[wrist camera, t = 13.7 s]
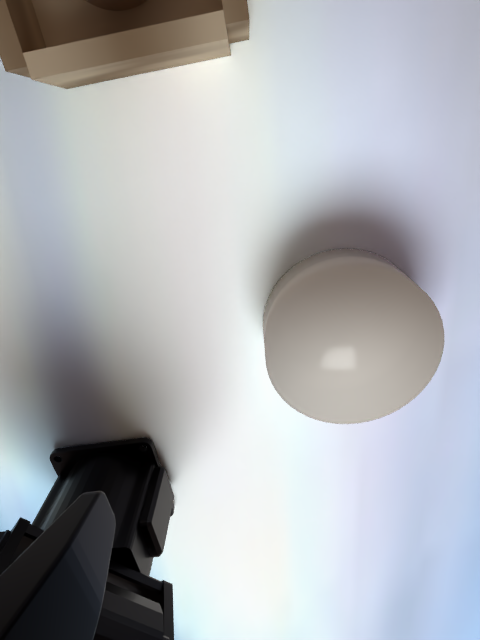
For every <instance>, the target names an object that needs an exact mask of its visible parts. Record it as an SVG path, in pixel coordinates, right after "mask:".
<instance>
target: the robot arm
mask: <svg viewBox="0 0 480 640" xmlns="http://www.w3.org/2000/svg"><path fill="white" fill-rule="evenodd" d="M142 445H144V446H147V447H143V446H142ZM58 456H59V457H58ZM60 457H61V458H60ZM50 461H51V463H52V465H53V467H54V469H55V471H56V473H57V475H58V478H57V480H56V481H55V483H54V485H53V487H52V489H51V491H50V492H49V494H48V496H47V498H46V500H45V501H44V503H43V505H42V507H41V509H40V510H39V512H38V514H37V516H36V518H35V519H34V521H33V523H32V525H31V524H30V521H28V520H25V519H23V518H21V517H20V518H19V520H18V521H17V523H16V524H15V526H14V527H13V529H12V530H11V531H9V530H6V531H4V532H0V640H174V623H173V586H172V584H171V583H168V582H166V581H164V580H163V581H162V582H161V581H159V580H157V579H154V578H152V577H150V576H149V575H150V570H151V566H152V561H153V557H159V556H160V555H161V554H162V552H163V549H164V544H165V539H166V534H167V529H168V524H169V519H170V516H172V515H173V513H174V504H173V500H174V494H173V491H172V488H171V485H170V482H169V479H168V476H167V473H166V470H165V468H164V467H163V466H161V465H160V462H159V459H158V456H157V453H156V450H155V447H154V444H153V442H152V441H151V440H150V439H148V438H137V439H129V440H121V441H113V442H105V443H97V444H89V445H81V446H73V447H65V448H57V449H55V450H54V451H53V452H52V454H51V455H50Z"/></svg>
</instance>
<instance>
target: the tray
mask: <svg viewBox="0 0 480 640" xmlns="http://www.w3.org/2000/svg"><path fill="white" fill-rule="evenodd" d="M244 40H249V13H248V6H247V0H147V1H146V2H144V3H142V4H141V5H139V6H137V7H134V8H132V9H128V10H123V11H112V10H106V9H102V8H99V7H96V6H94V5H92V4H90V3H88V2H87V1H85V0H0V57H1V59H2V62H3V65H4V68H5V71H7V72H11V73H15V74H18V75H22V76H26V77H29V78H31V79H32V80H35V81H38V82H42V83H46V84H50V85H54V86H57V87H61V88H65V89H69V88H74V87H79V86H84V85H89V84H94V83H98V82H103V81H108V80H113V79H118V78H123V77H128V76H133V75H137V74H142V73H147V72H152V71H157V70H162V69H167V68H172V67H177V66H181V65H186V64H191V63H196V62H201V61H206V60H211V59H216V58H220V57H225V56H230V55H231V53H230V46H229V44H230V43H235V42H240V41H244Z"/></svg>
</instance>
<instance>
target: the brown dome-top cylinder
mask: <svg viewBox="0 0 480 640" xmlns="http://www.w3.org/2000/svg"><path fill="white" fill-rule="evenodd" d="M85 1H87V2H88V3H90V4H92V5H94V6H96V7H99V8H102V9H106V10H112V11H123V10H128V9H132V8H134V7H137V6H139V5H141V4H142V3H144V2H146V1H147V0H85Z"/></svg>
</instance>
